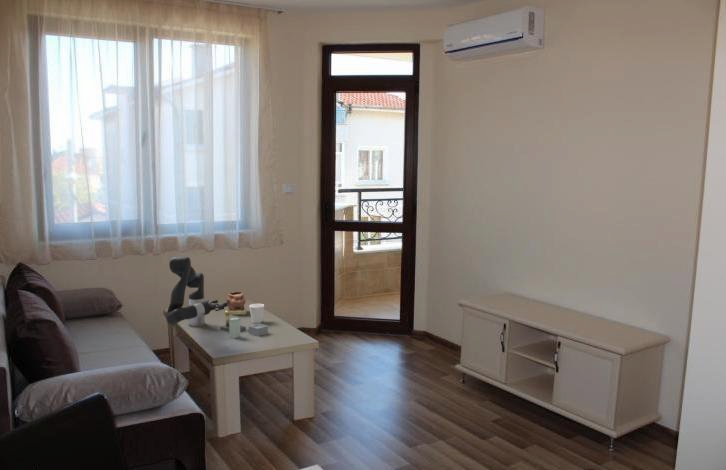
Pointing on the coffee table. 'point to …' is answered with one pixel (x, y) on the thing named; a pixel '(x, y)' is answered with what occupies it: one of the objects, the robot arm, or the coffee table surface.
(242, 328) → the plate
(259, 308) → the cup
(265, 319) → the coffee table surface
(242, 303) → the decorative planter
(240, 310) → the brown piece
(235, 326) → the cover
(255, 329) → the housing
